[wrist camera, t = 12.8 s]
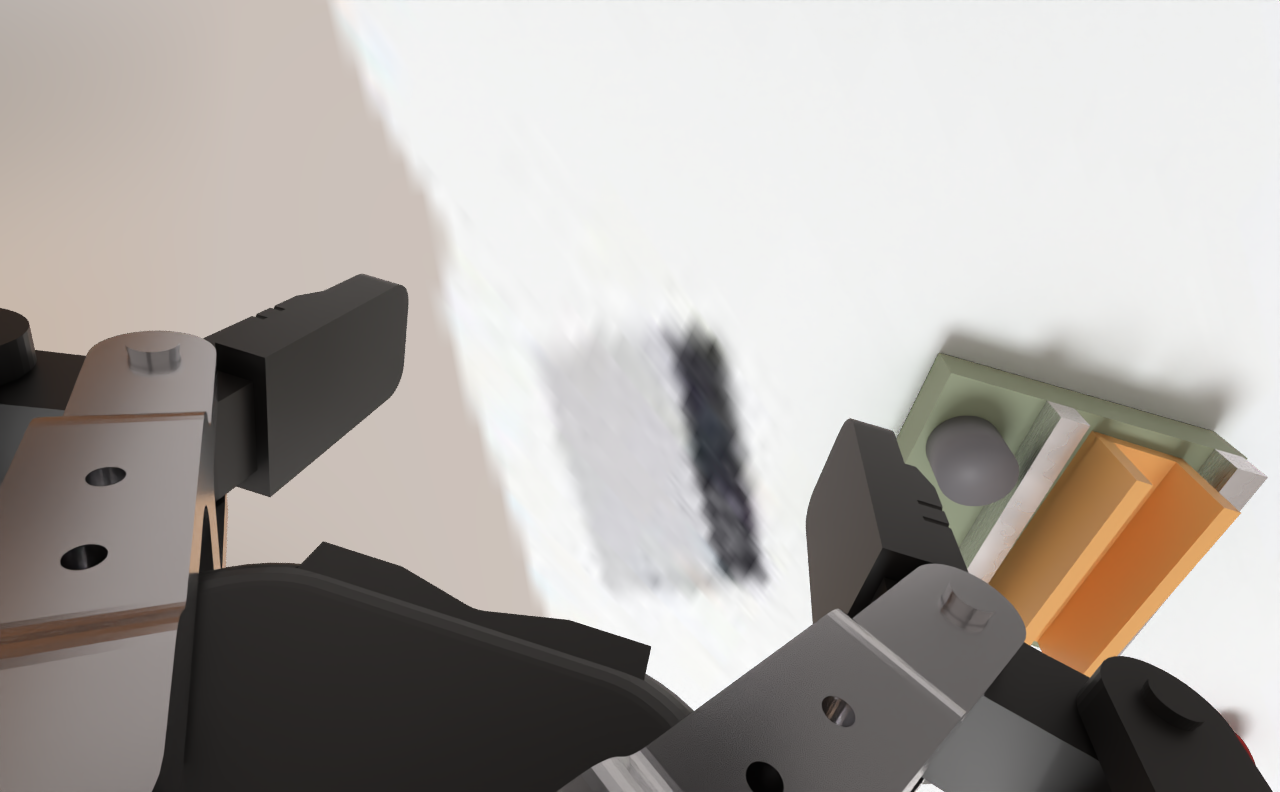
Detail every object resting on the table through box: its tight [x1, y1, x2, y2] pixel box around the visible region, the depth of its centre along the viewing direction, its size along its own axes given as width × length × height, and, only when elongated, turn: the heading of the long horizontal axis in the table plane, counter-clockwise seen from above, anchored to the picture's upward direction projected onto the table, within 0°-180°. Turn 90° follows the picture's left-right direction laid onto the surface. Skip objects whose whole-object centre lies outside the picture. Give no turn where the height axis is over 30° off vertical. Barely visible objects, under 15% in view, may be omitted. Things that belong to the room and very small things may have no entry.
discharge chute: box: [988, 431, 1241, 677], centre depth 37 cm, size 14×5×5 cm, turn 165°
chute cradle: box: [959, 401, 1268, 656], centre depth 38 cm, size 16×10×2 cm, turn 167°
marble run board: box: [896, 353, 1248, 647], centre depth 39 cm, size 16×16×6 cm
